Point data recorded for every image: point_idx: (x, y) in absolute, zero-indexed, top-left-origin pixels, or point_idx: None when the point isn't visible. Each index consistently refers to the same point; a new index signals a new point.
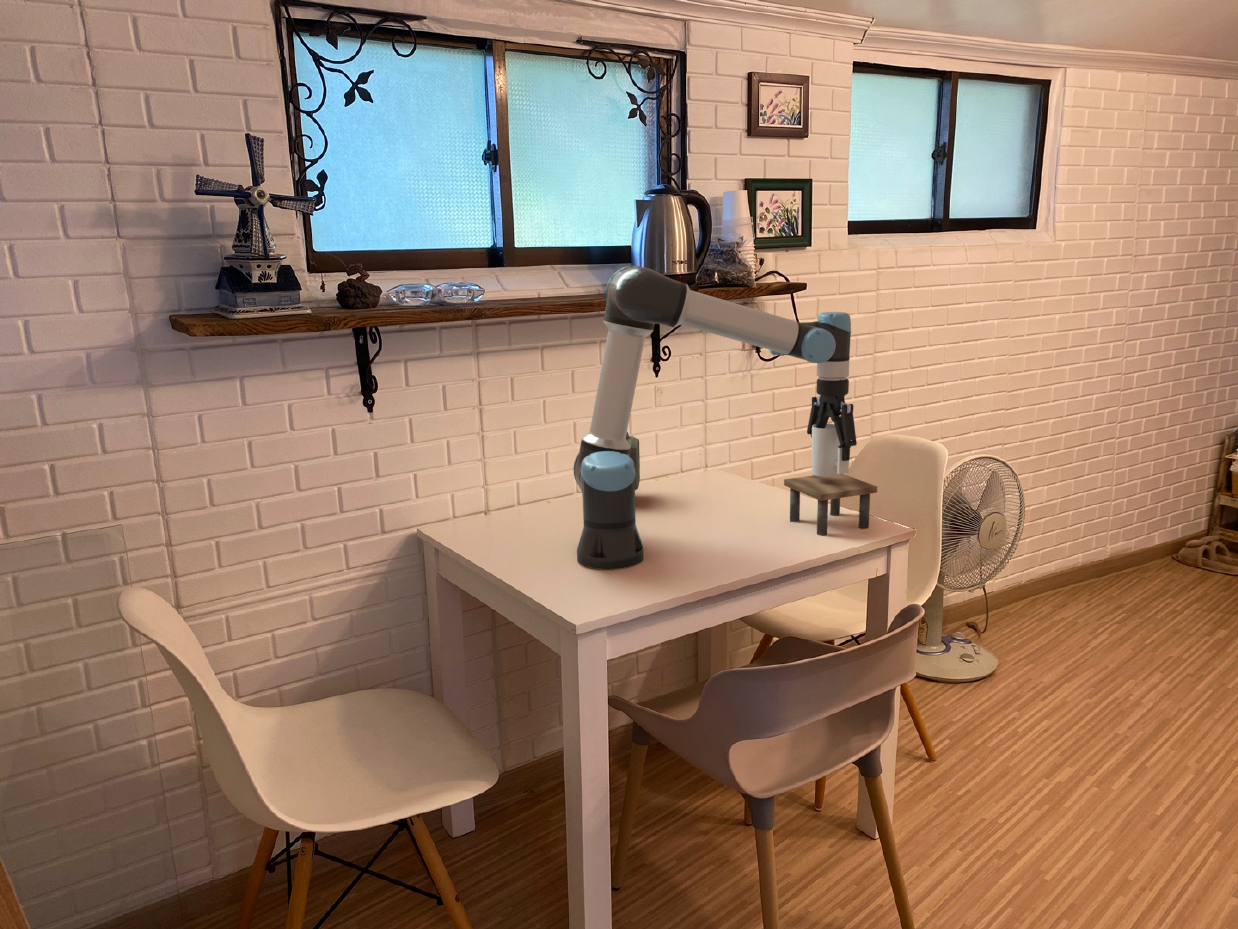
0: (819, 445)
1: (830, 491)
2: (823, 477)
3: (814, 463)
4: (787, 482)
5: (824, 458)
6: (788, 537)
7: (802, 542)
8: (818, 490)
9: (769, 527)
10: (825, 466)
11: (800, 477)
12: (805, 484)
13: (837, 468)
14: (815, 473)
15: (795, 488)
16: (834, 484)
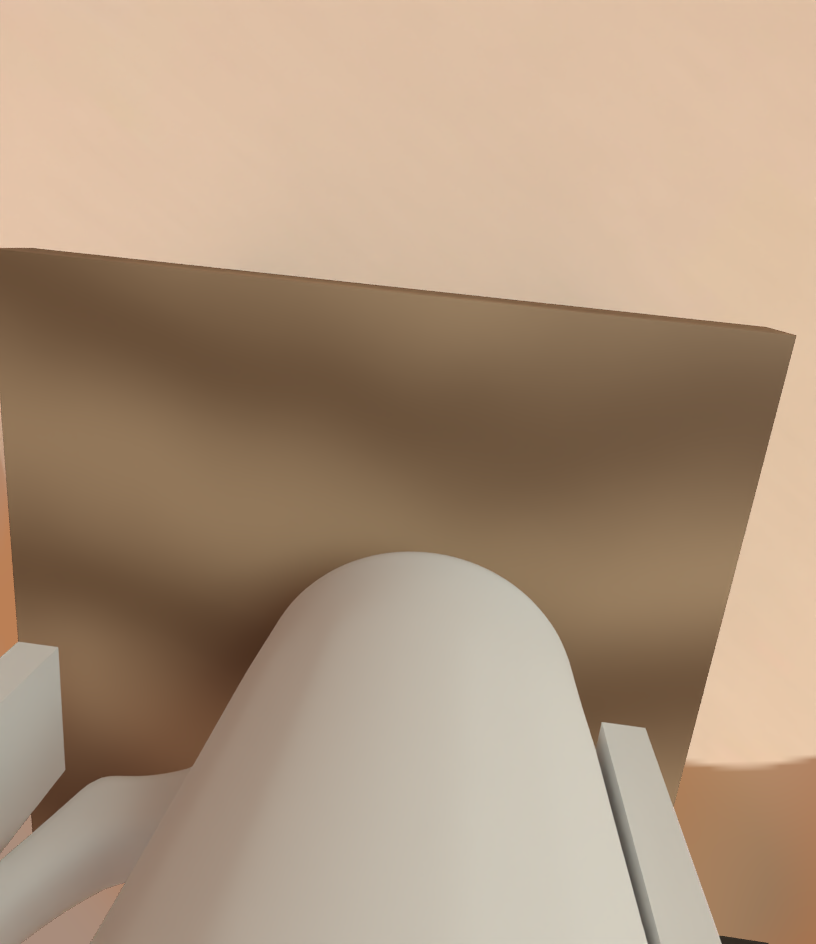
0: (202, 904)
1: (63, 429)
2: None
3: (411, 625)
4: (706, 324)
5: (216, 742)
6: (294, 44)
7: (150, 63)
8: (153, 348)
9: (575, 71)
10: (247, 672)
11: (726, 554)
12: (443, 397)
13: (8, 688)
14: (402, 561)
15: (517, 300)
16: None
